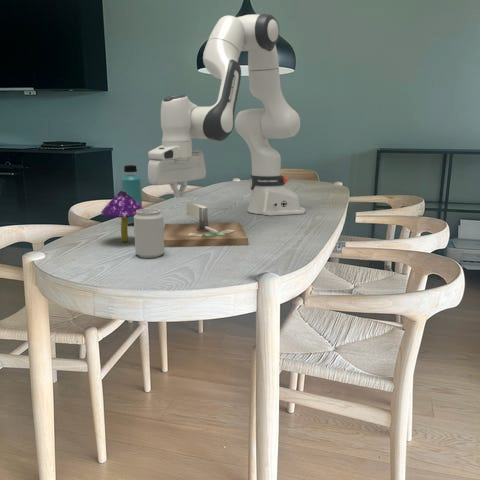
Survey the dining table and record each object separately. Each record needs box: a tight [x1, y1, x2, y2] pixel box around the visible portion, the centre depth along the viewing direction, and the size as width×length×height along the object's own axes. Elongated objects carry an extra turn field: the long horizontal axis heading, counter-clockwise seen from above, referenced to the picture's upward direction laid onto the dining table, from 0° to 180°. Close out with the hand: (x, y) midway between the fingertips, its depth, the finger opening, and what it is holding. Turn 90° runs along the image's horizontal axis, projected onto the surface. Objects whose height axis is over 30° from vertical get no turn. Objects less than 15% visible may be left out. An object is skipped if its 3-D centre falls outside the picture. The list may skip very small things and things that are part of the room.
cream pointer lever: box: [185, 201, 218, 234], centre depth 147 cm, size 20×3×7 cm, turn 29°
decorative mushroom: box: [100, 190, 145, 243], centre depth 138 cm, size 12×12×15 cm
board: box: [164, 222, 249, 248], centre depth 146 cm, size 24×22×2 cm
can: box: [133, 208, 165, 259], centre depth 125 cm, size 8×8×12 cm
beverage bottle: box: [121, 164, 143, 223], centre depth 161 cm, size 6×7×20 cm
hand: (179, 196), depth 148 cm, fingers closed
